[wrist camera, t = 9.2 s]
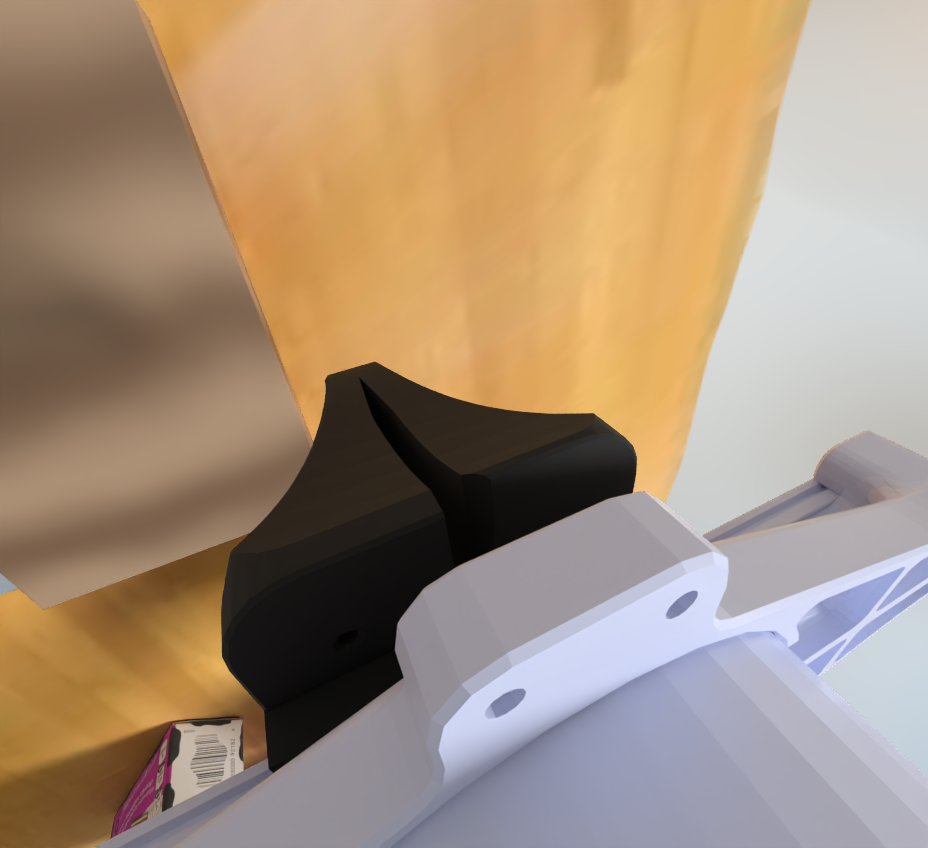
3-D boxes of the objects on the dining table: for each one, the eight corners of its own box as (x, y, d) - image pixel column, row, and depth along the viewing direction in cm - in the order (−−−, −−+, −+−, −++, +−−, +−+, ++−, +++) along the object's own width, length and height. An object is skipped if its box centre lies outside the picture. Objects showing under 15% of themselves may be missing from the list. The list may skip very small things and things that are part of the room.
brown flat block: (320, 461, 24) (332, 502, 22) (66, 548, 21) (43, 609, 18) (149, 18, 14) (131, -7, 11) (-424, 53, 10) (-647, 30, 8)
